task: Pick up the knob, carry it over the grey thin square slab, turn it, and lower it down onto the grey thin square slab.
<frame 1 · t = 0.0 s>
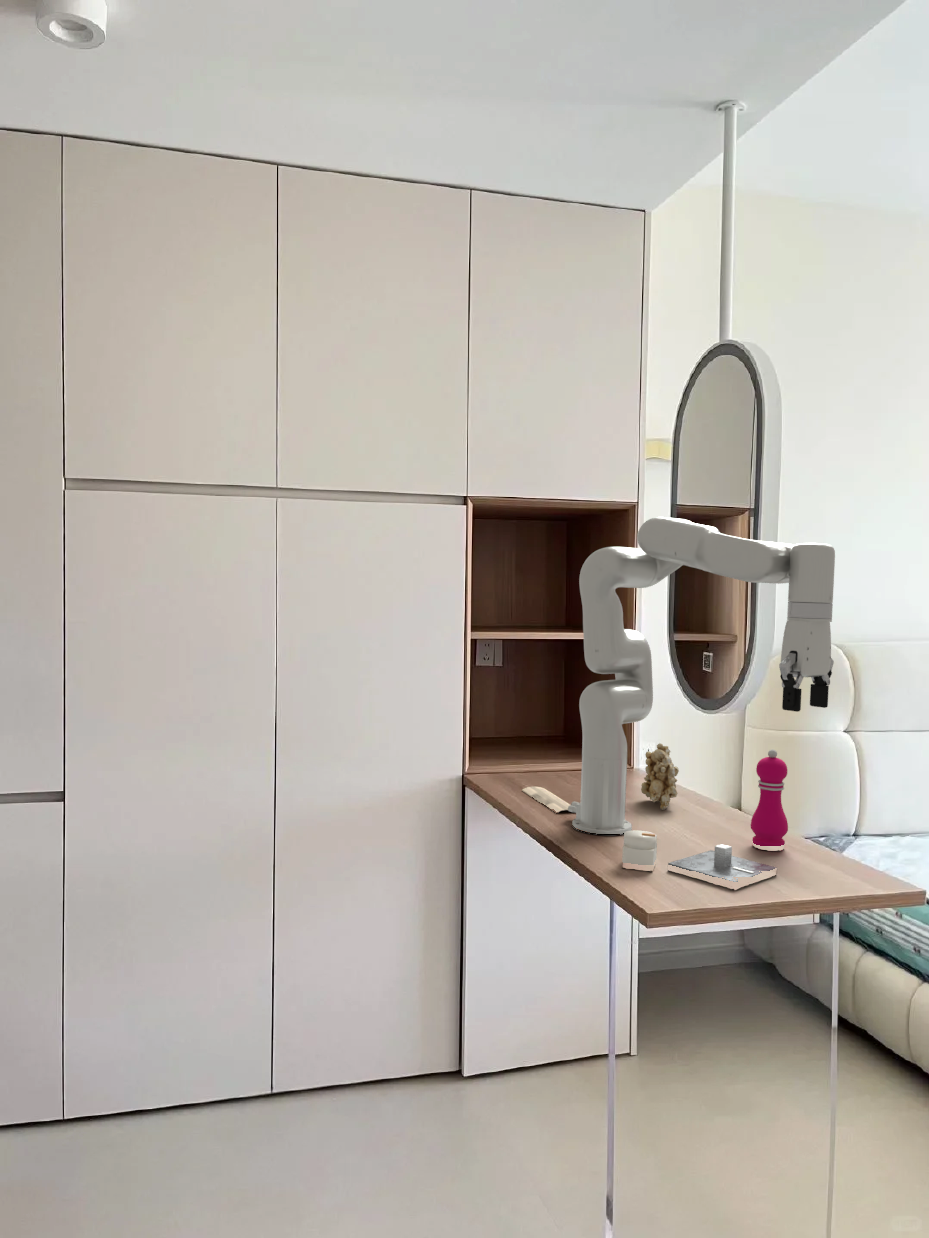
hand: (805, 708, 174), 31 cm above the table, tool pointing down, fingers open, 9 cm apart
knob: (639, 866, 182), on the table
pepper mill: (768, 848, 198), on the table
grey thin square slab: (722, 873, 179), on the table
mineral formation: (661, 806, 231), on the table
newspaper: (548, 805, 232), on the table
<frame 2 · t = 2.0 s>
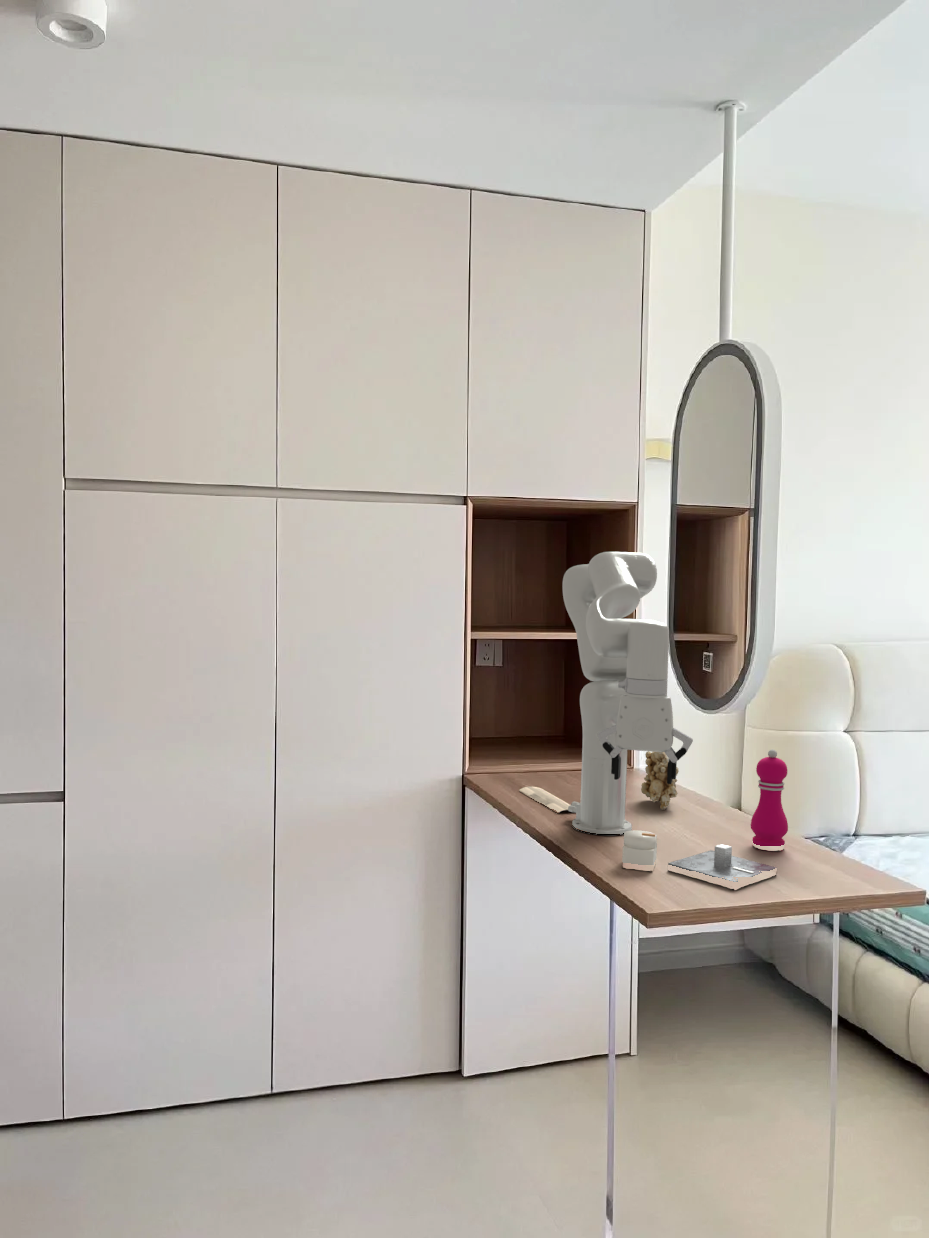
hand: (643, 780, 181), 16 cm above the table, tool pointing down, fingers open, 9 cm apart
nothing on the table moved.
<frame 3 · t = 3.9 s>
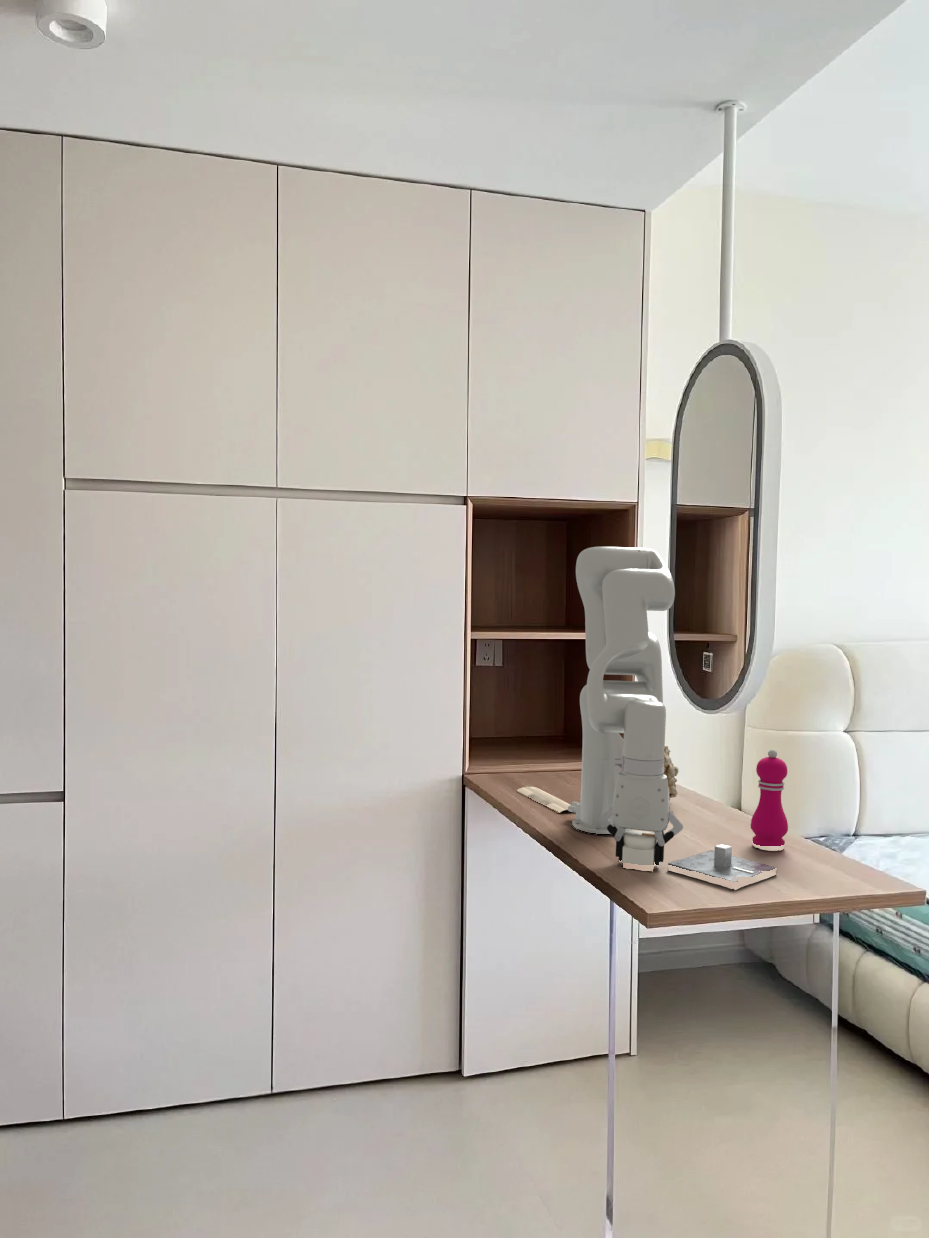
hand: (639, 862, 182), 1 cm above the table, tool pointing down, fingers closed on knob, 6 cm apart
knob: (639, 866, 182), on the table, touching gripper
everything else where it was.
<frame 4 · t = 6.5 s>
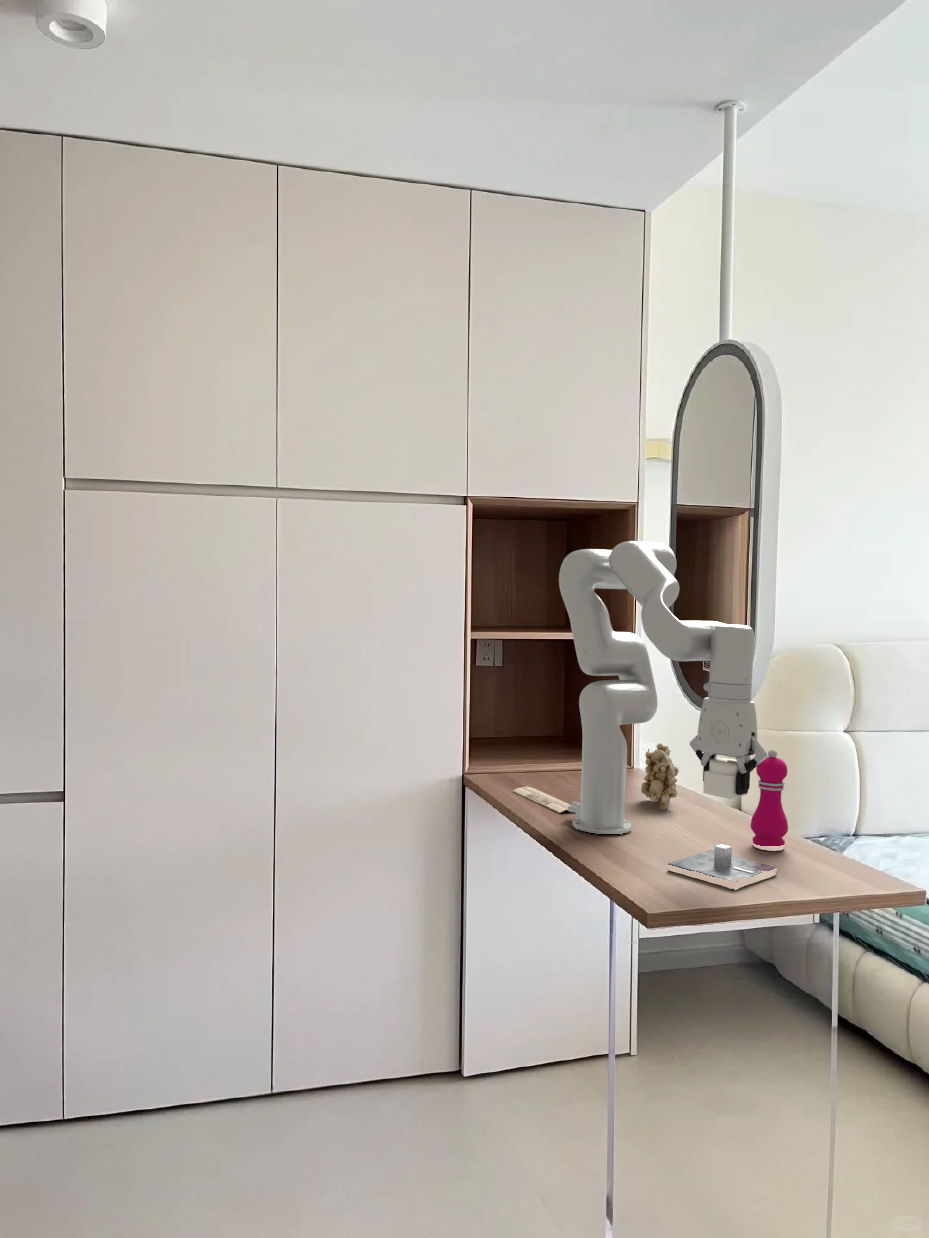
hand: (725, 789, 178), 15 cm above the table, tool pointing down, fingers closed on knob, 6 cm apart
knob: (725, 793, 178), point 15 cm above the table, touching gripper
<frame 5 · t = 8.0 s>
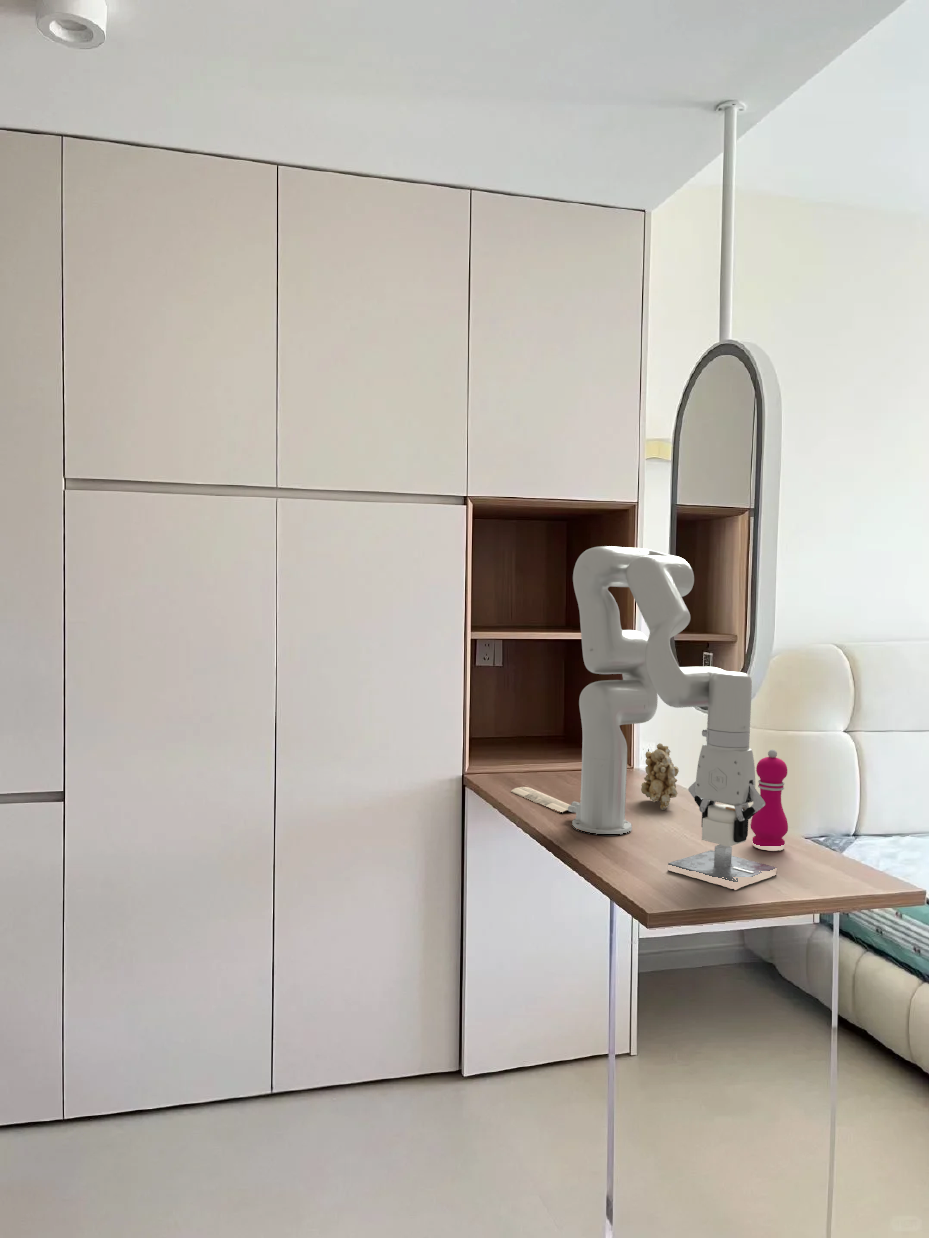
hand: (724, 836, 179), 7 cm above the table, tool pointing down, fingers closed on knob, 6 cm apart
knob: (723, 840, 179), point 6 cm above the table, touching gripper
when the fingers open (3 cm above the table, at t = 9.2 s): knob stays where it is, resting on grey thin square slab.
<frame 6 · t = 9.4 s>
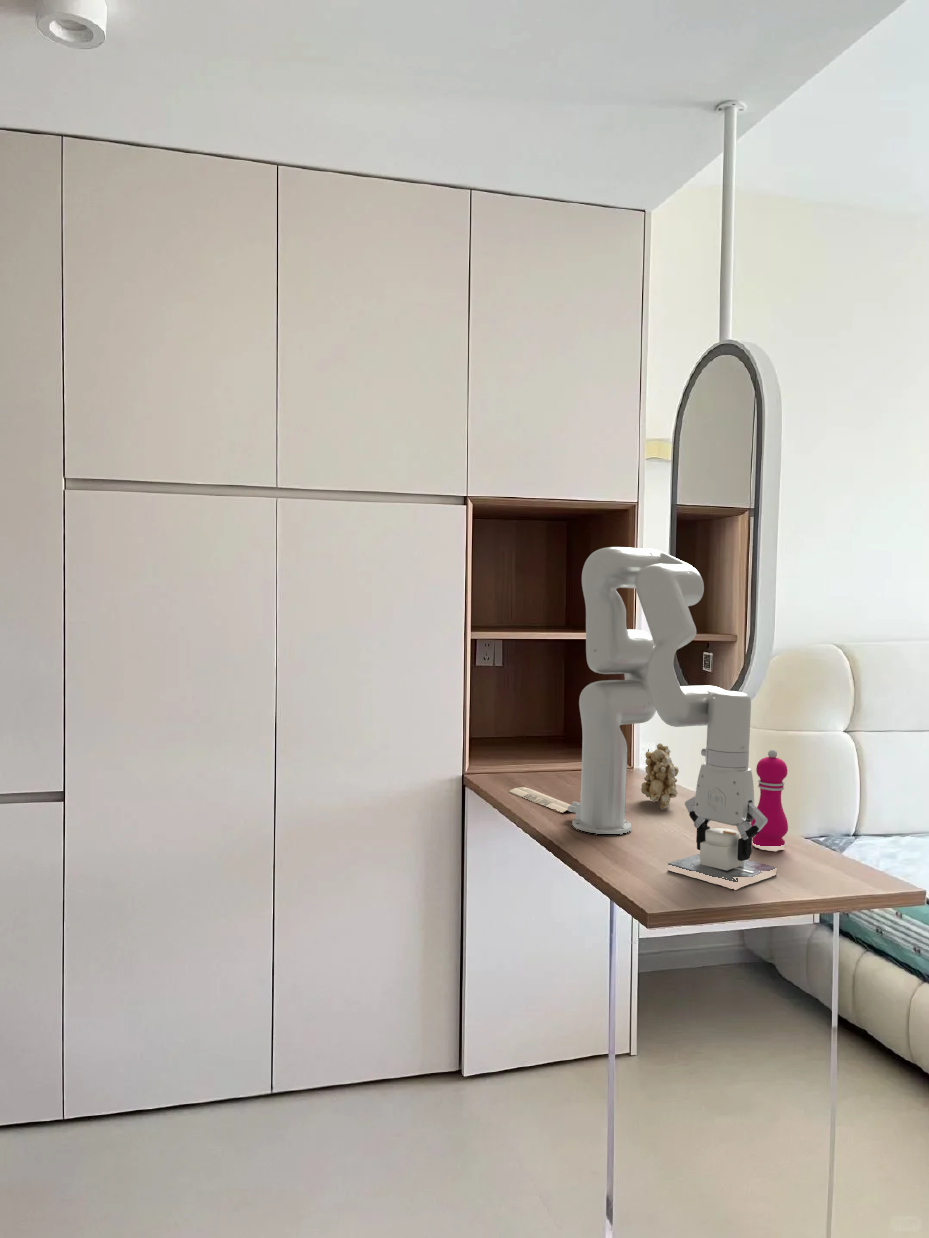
hand: (723, 853, 179), 4 cm above the table, tool pointing down, fingers open, 8 cm apart
knob: (721, 864, 179), point 2 cm above the table, touching grey thin square slab
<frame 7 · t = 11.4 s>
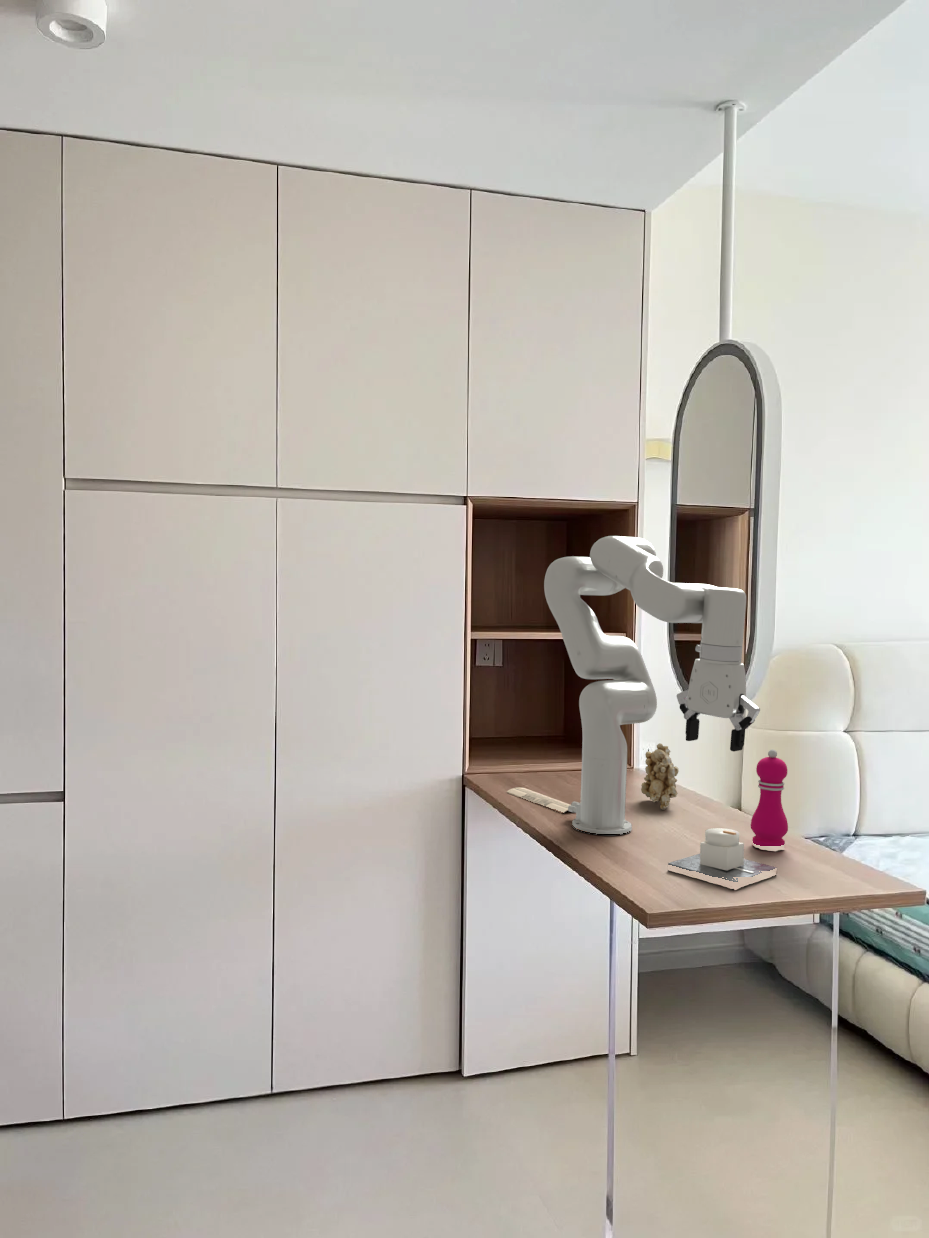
hand: (713, 745, 182), 23 cm above the table, tool pointing down, fingers open, 9 cm apart
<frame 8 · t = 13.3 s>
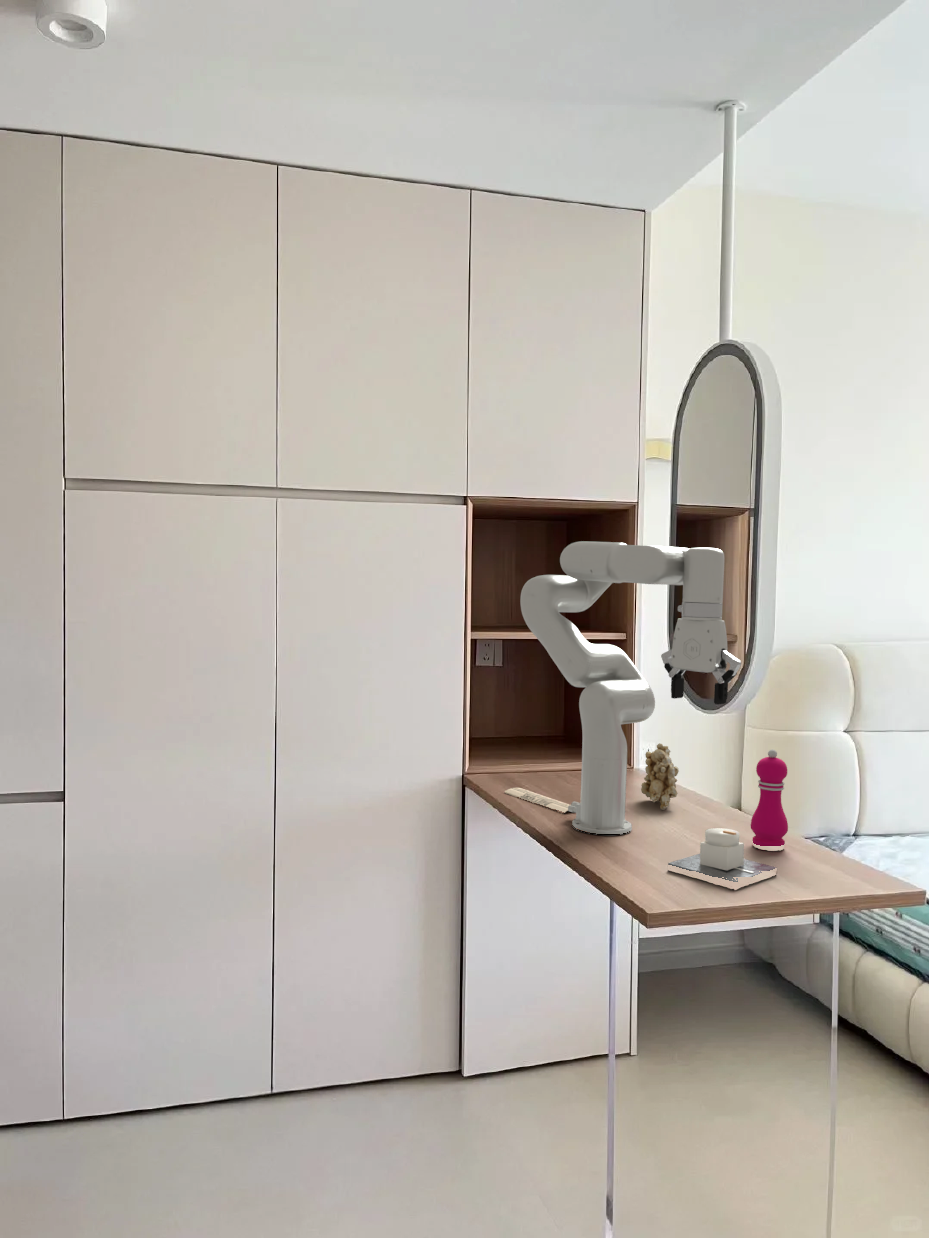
hand: (698, 700, 188), 30 cm above the table, tool pointing down, fingers open, 9 cm apart
at the end: knob 0.1 cm off-centre on the grey thin square slab, point 1.6 cm above the grey thin square slab's base; knob tilted 2°; the gripper is holding nothing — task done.
